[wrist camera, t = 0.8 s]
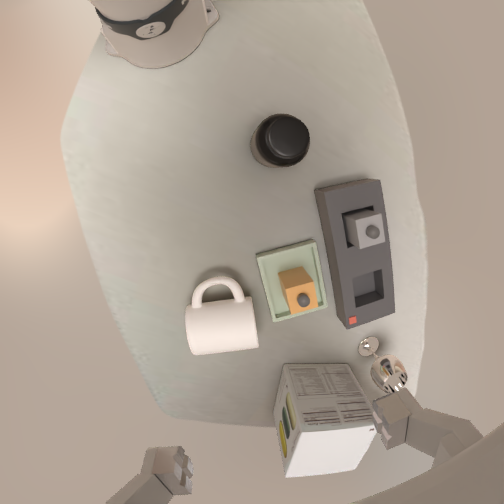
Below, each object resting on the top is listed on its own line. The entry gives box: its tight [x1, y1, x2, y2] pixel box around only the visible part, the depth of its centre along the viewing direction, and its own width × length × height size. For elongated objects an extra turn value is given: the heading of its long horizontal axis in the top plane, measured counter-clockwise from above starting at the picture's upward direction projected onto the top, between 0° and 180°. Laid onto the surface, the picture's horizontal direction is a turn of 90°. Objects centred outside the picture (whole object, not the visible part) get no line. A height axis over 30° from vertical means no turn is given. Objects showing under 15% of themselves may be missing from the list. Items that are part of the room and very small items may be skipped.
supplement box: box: [273, 364, 377, 477], centre depth 46 cm, size 13×13×18 cm
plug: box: [278, 266, 318, 315], centre depth 44 cm, size 4×4×8 cm
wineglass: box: [358, 337, 407, 394], centre depth 47 cm, size 6×6×12 cm
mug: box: [185, 276, 259, 355], centre depth 45 cm, size 12×10×8 cm
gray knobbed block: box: [341, 208, 385, 249], centre depth 41 cm, size 4×4×8 cm
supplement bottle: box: [250, 114, 310, 168], centre depth 37 cm, size 7×7×12 cm
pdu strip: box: [314, 179, 395, 329], centre depth 45 cm, size 22×9×5 cm, turn 14°
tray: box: [256, 239, 328, 323], centre depth 47 cm, size 11×9×2 cm
